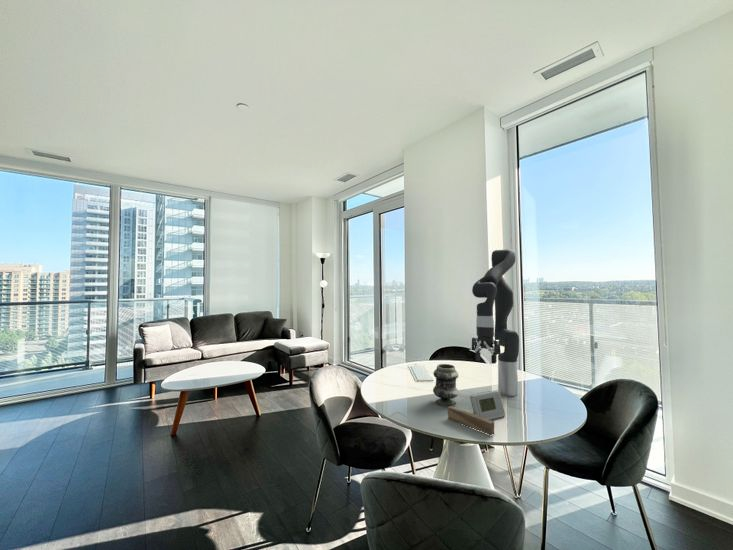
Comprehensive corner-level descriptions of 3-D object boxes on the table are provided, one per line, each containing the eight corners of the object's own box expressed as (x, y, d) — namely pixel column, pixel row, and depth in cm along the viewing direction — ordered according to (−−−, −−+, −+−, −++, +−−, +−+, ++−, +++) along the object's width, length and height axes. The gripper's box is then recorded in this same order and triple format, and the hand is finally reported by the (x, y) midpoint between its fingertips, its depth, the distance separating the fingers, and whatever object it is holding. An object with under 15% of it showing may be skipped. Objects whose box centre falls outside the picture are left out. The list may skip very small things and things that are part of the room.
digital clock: (476, 424, 136) (475, 398, 136) (465, 415, 145) (464, 391, 145) (510, 420, 139) (510, 395, 139) (497, 411, 148) (497, 388, 148)
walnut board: (451, 417, 142) (451, 406, 142) (494, 434, 126) (494, 421, 126) (448, 419, 141) (448, 407, 141) (490, 436, 125) (490, 423, 125)
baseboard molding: (413, 382, 191) (433, 382, 191) (413, 377, 191) (433, 377, 191) (406, 368, 222) (424, 368, 222) (406, 363, 222) (424, 363, 222)
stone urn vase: (455, 409, 150) (454, 370, 151) (429, 405, 156) (429, 367, 156) (461, 401, 161) (461, 364, 161) (437, 396, 167) (437, 361, 167)
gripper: (503, 326, 146) (504, 364, 144) (478, 324, 158) (479, 359, 156) (492, 327, 142) (493, 365, 140) (467, 325, 154) (467, 360, 153)
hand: (485, 362), depth 148 cm, fingers open, 8 cm apart
